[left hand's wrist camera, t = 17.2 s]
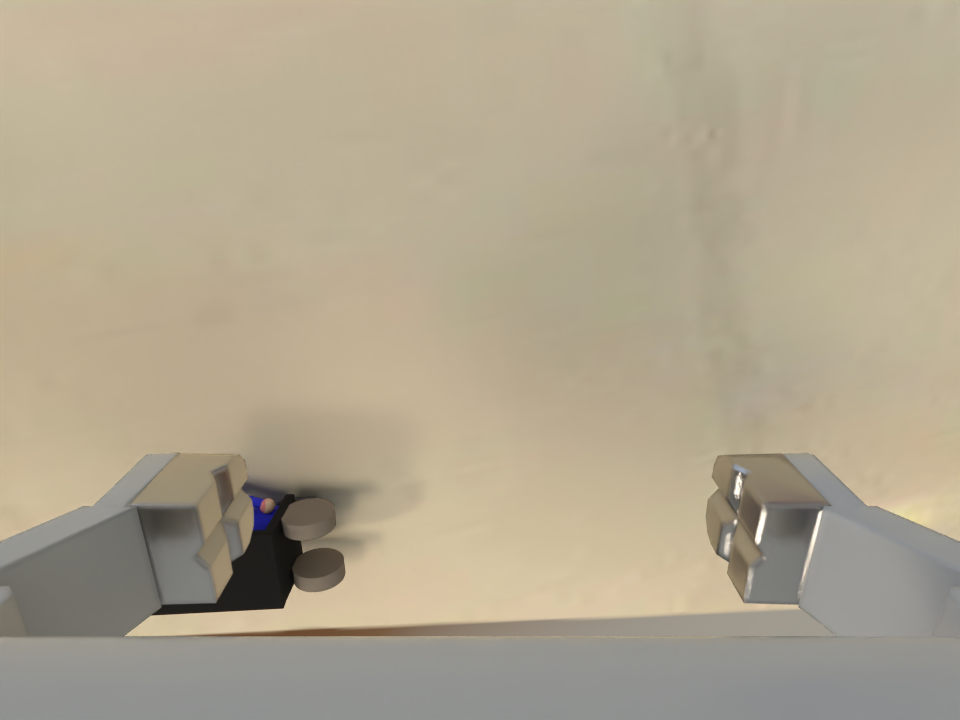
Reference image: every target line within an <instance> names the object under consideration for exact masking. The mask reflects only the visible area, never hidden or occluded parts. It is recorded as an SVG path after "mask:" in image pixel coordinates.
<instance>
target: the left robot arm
mask: <svg viewBox="0 0 960 720" xmlns="http://www.w3.org/2000/svg"><path fill="white" fill-rule="evenodd" d="M247 478H248V473H247V469H246V464H245V460H244V459H243V458H242V457H241V456H240V455H239V454H188V453H183V454H180V453H154V454H147V455H146V456H145V457H144V458H143V459H142V460H141V461H139V462H138V463H137V464H136V465H135V466H134V467H133V468H132V469H131V470H130V471H129V472H128V473H127V474H126V475H125V476H124V477H123V478H122V479H121V480H120V481H119V482H118V483H117V484H115V485H114V486H113V487H112V488H111V489H110V490H109V491H108V492H107V493H106V494H105V495H104V496H103V497H102V498H101V499H100V500H99V501H98V502H97V503H96V504H95V505H94V506H83V507H80V508H78V509H76V510H73V511H71V512H69V513H66V514H64V515H62V516H59V517H57V518H54V519H52V520H50V521H47V522H45V523H43V524H40V525H38V526H36V527H33V528H31V529H29V530H26V531H24V532H22V533H19V534H17V535H15V536H12V537H10V538H8V539H5V540H3V541H1V542H0V720H960V542H959V541H957V540H955V539H952V538H950V537H948V536H945V535H943V534H941V533H938V532H936V531H934V530H931V529H929V528H927V527H924V526H922V525H919V524H917V523H915V522H912V521H910V520H908V519H905V518H903V517H901V516H898V515H896V514H894V513H891V512H889V511H887V510H884V509H882V508H880V507H877V506H866V505H865V504H864V503H863V502H862V501H861V500H860V499H859V498H858V497H857V496H856V495H855V494H854V493H853V492H852V491H851V490H850V489H849V488H848V487H847V486H846V485H845V484H844V483H843V482H842V481H840V480H839V479H838V478H837V477H836V476H835V475H834V474H833V473H832V472H831V471H830V470H829V469H828V468H827V467H826V466H825V465H824V464H823V463H822V462H821V461H820V460H819V459H818V458H817V457H816V456H814V455H812V454H809V453H787V454H743V455H720V456H718V457H717V459H716V461H715V463H714V467H713V473H712V478H713V480H714V481H715V483H716V484H717V486H718V488H719V489H718V490H717V491H716V492H715V493H714V494H713V495H712V496H711V497H710V498H709V499H708V503H707V511H706V523H707V533H708V536H709V539H710V542H711V545H712V547H713V549H714V550H715V552H716V554H717V555H718V556H720V557H722V558H723V559H725V560H726V561H728V562H729V565H728V570H727V574H728V576H729V577H730V579H731V581H732V583H733V585H734V586H735V588H736V590H737V592H738V593H739V595H740V597H741V599H742V600H743V602H744V603H760V604H796V605H799V606H798V607H799V608H800V609H802V610H803V611H804V612H806V613H807V614H808V615H810V616H811V617H812V618H813V619H815V620H816V621H817V622H819V623H820V624H821V625H823V626H824V627H825V628H826V629H828V630H829V631H830V632H832V633H833V634H834V635H836V636H600V637H599V636H595V637H594V636H578V637H577V636H563V637H562V636H550V637H549V636H546V637H545V636H542V637H541V636H540V637H539V636H538V637H537V636H530V637H529V636H526V637H525V636H518V637H517V636H513V637H512V636H125V635H126V634H127V633H129V632H130V631H131V630H132V629H134V628H135V627H136V626H138V625H139V624H140V623H142V622H143V621H144V620H145V619H147V618H148V617H149V616H151V615H152V614H153V613H155V612H156V611H157V610H159V609H160V608H161V605H163V604H199V603H216V602H217V600H218V599H219V597H220V595H221V593H222V592H223V590H224V588H225V586H226V585H227V583H228V581H229V579H230V577H231V576H232V574H233V570H232V565H231V562H232V561H234V560H235V559H237V558H238V557H240V556H242V555H243V554H244V552H245V550H246V549H247V547H248V545H249V543H250V539H251V535H252V531H253V527H254V509H253V503H252V499H251V498H250V497H249V496H248V495H247V494H246V493H245V492H244V491H243V490H242V489H241V488H242V486H243V484H244V483H245V481H246V480H247Z"/></svg>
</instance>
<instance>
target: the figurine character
mask: <svg viewBox="0 0 960 720" xmlns="http://www.w3.org/2000/svg"><path fill="white" fill-rule="evenodd" d="M248 496H249V495H248ZM249 497H250V498H251V499H252V503H253V507H255V508H253V509H254V527H253V531H252V535H251V539H250V543H249V545H248V547H247V549H246V550H245V552H244V554H243V555H242V556H240V557H238V558H237V559H235V560H234V561H232V562H231V565H232V570H233V574H232V576H231V577H230V579H229V581H228V583H227V585H226V586H225V588H224V590H223V592H222V593H221V595H220V597H219V599H218V600H217V602H216V603H199V604H163V605H161V608H160V609H159V610H157V611H156V612H155V613H153V614H152V615H169V614H188V613H207V612H225V611H244V610H263V609H283V608H284V606H285V603H286V600H287V598H288V596H289V593H290V591H291V589H292V587H293V585H294V584H295V585H296V587H297V588H299V589H300V590H303V591H306V592H320V591H324V590H328V589H330V588H332V587H334V586H336V585H337V584H339V583H340V582H341V581H342V580H343V578H344V576H345V565H344V557H343V555H342V553H340V552H339V551H337V550H335V549H331V548H318V549H313V550H310V551H307V552H305V553H303V552H302V545H301V541H306V540H313V539H316V538H320V537H322V536H324V535H326V534H328V533H329V532H331V531H332V530H333V529H334V527H335V525H336V517H335V508H334V505H333V503H332V502H330V501H328V500H326V499H321V498H316V497H314V496H312V497H302V498H295V496H294V494H286V496H285V497H284V499H283V500H281V501H280V502H278V503H277V505H280V506H275V502H274V501H273V500H272V499H269V498H267V499H261V498H257V497H253V496H249Z"/></svg>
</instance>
